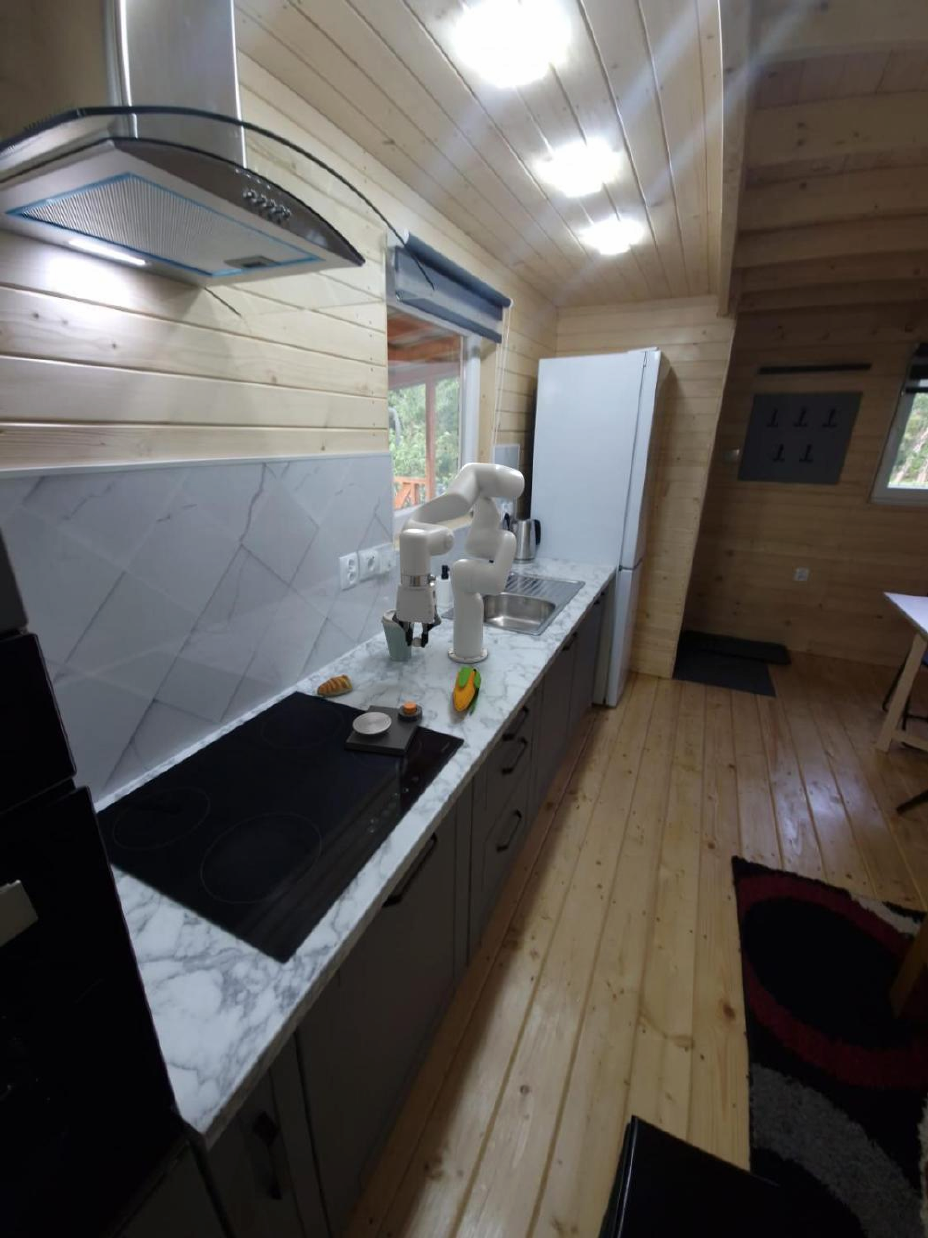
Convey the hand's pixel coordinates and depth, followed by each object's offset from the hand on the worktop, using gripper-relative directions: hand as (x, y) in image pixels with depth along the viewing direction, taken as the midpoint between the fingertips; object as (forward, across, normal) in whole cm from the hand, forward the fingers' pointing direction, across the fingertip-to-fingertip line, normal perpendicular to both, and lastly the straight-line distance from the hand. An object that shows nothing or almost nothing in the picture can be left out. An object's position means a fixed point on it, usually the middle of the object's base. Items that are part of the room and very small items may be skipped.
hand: (417, 644), depth 132 cm
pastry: (+16, +23, +3) cm, 28 cm away
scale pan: (+12, +5, +21) cm, 25 cm away
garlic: (0, 0, 0) cm, 0 cm away
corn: (+15, -14, +1) cm, 21 cm away
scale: (+15, +3, +19) cm, 24 cm away
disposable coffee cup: (+15, +12, -21) cm, 29 cm away
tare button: (+12, -2, +13) cm, 18 cm away
